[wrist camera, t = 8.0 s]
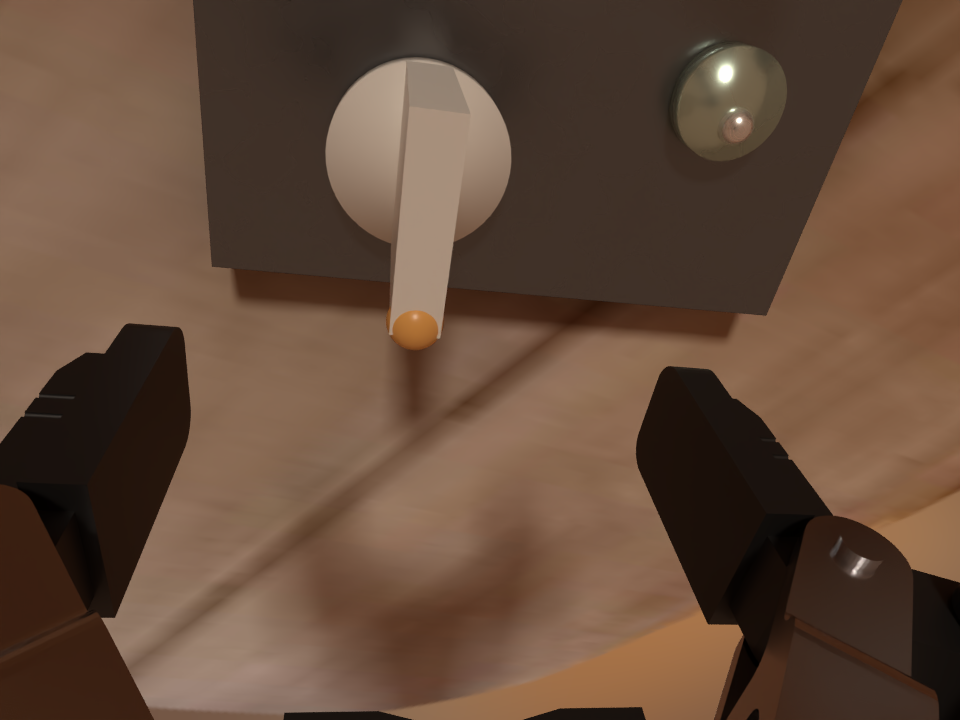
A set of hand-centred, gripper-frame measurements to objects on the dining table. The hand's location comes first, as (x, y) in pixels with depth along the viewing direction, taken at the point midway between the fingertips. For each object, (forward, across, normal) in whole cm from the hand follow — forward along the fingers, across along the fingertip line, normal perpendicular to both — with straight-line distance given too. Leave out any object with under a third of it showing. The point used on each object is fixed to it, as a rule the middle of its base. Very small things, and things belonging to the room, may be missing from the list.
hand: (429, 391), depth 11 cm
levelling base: (+16, -4, -7) cm, 18 cm away
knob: (+14, 0, 0) cm, 14 cm away
